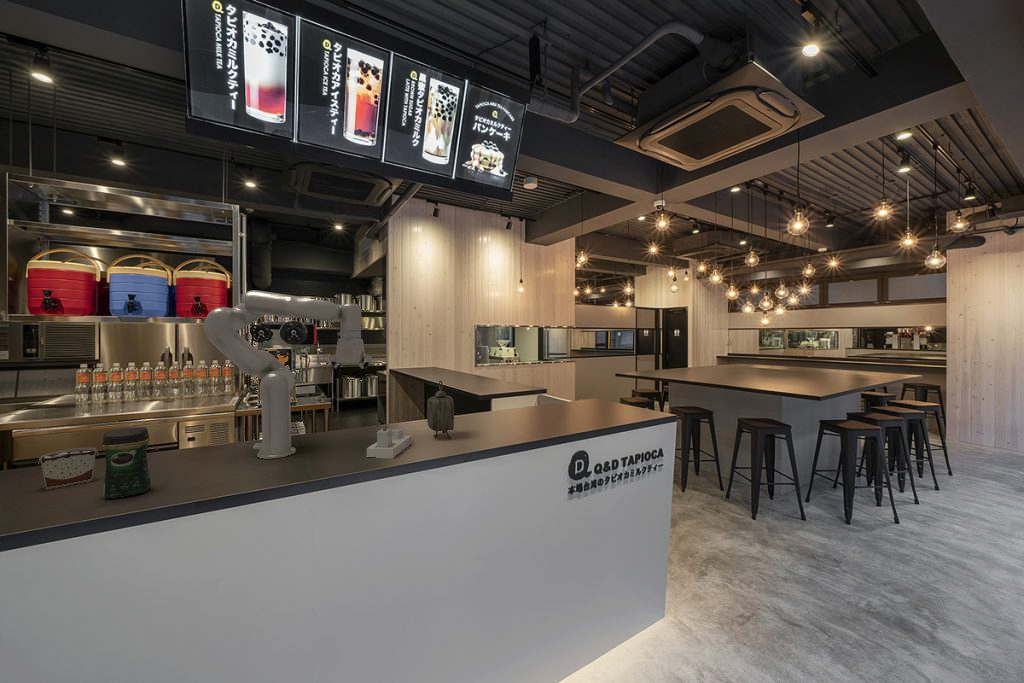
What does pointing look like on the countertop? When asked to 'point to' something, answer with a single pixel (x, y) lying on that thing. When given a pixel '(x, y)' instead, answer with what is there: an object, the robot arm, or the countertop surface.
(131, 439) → the coffee jar
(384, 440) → the plug
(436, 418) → the dark lantern
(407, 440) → the power strip
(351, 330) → the robot arm
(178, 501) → the countertop surface
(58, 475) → the food container
